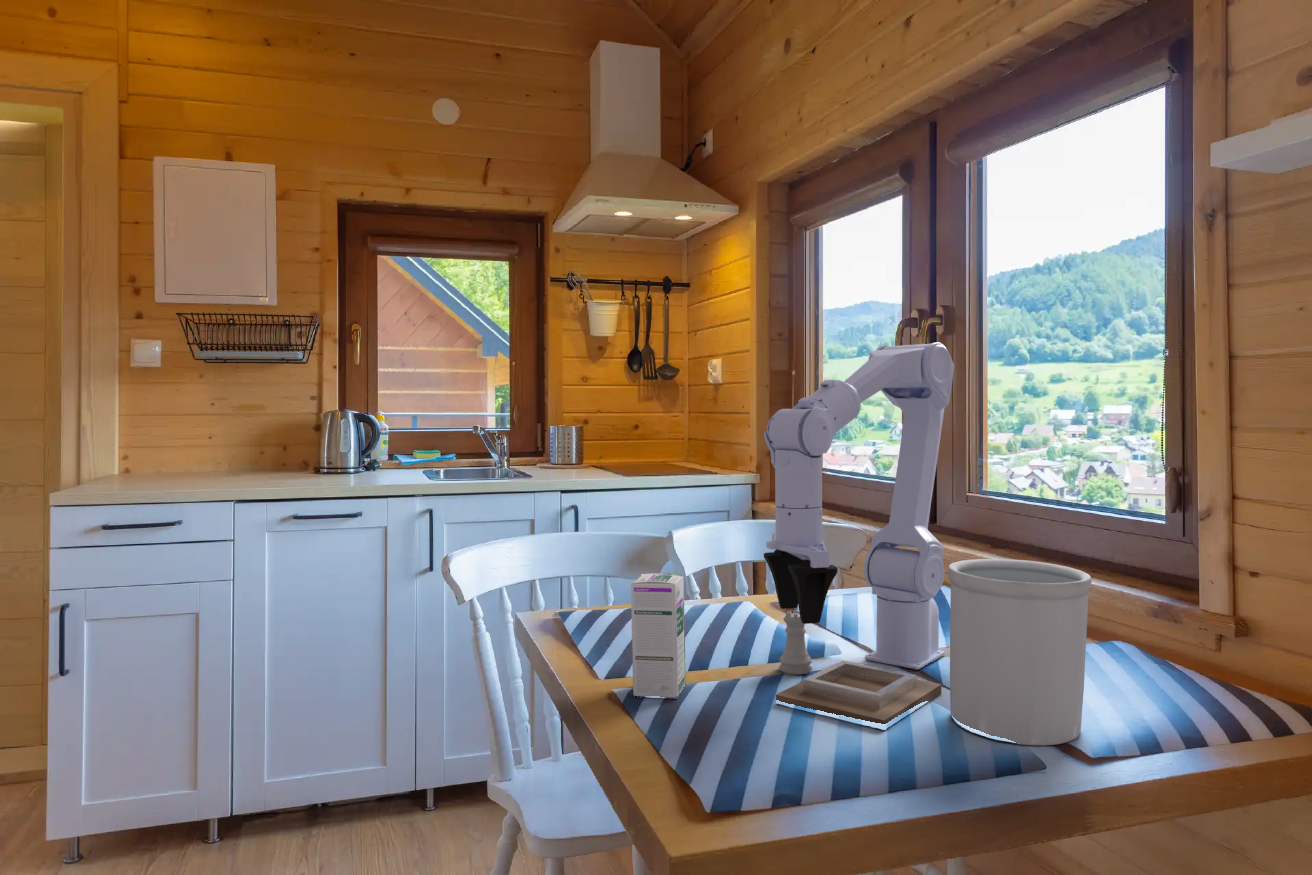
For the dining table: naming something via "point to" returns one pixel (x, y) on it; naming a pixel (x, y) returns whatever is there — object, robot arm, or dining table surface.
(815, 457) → the robot arm
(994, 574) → the utensil holder
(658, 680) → the syrup box
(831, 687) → the collar board
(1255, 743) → the dining table surface
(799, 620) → the rook chess piece
